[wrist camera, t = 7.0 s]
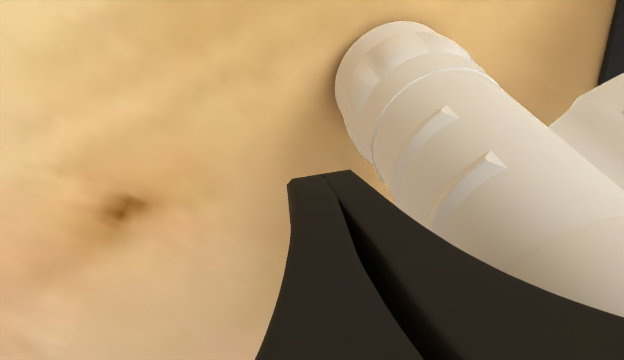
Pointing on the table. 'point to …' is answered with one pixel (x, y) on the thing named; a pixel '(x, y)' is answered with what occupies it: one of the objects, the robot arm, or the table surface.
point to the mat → (614, 47)
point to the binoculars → (492, 162)
